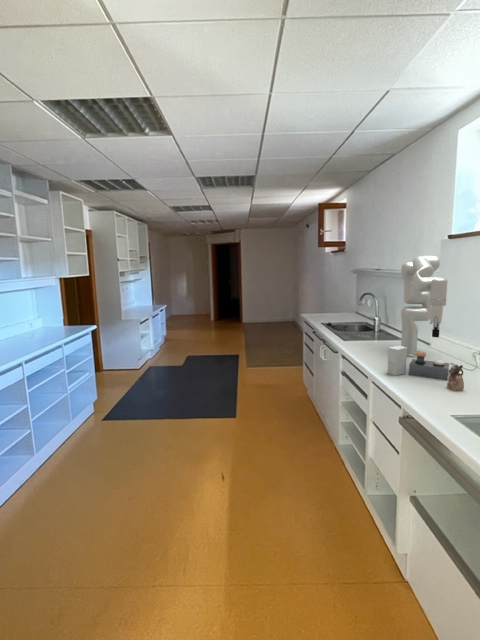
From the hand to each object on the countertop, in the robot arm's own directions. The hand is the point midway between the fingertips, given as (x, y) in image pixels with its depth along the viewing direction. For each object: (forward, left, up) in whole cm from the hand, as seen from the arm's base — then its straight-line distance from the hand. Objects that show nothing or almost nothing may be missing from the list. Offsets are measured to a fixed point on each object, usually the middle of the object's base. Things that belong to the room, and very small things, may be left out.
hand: (435, 336), depth 190 cm
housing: (0, -2, -21) cm, 21 cm away
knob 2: (0, +3, -20) cm, 21 cm away
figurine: (+18, +11, -21) cm, 30 cm away
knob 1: (0, -6, -17) cm, 18 cm away
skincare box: (+6, -17, -21) cm, 28 cm away
